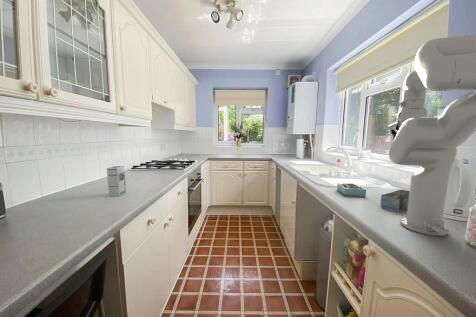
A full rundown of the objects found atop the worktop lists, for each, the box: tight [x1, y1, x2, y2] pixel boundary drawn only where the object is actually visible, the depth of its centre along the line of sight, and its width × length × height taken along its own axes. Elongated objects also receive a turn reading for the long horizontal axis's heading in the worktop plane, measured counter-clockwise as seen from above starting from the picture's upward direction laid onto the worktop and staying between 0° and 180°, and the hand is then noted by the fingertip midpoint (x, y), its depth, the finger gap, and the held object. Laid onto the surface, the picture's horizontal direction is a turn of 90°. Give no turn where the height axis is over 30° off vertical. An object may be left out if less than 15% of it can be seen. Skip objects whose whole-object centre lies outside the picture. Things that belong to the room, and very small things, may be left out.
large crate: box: [336, 183, 367, 198], centre depth 117 cm, size 12×11×4 cm
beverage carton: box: [380, 189, 409, 213], centre depth 97 cm, size 8×19×7 cm, turn 120°
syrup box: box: [106, 165, 127, 197], centre depth 107 cm, size 6×6×14 cm
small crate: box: [342, 183, 360, 189], centre depth 117 cm, size 7×6×4 cm
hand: (407, 145), depth 92 cm, fingers open, 9 cm apart
